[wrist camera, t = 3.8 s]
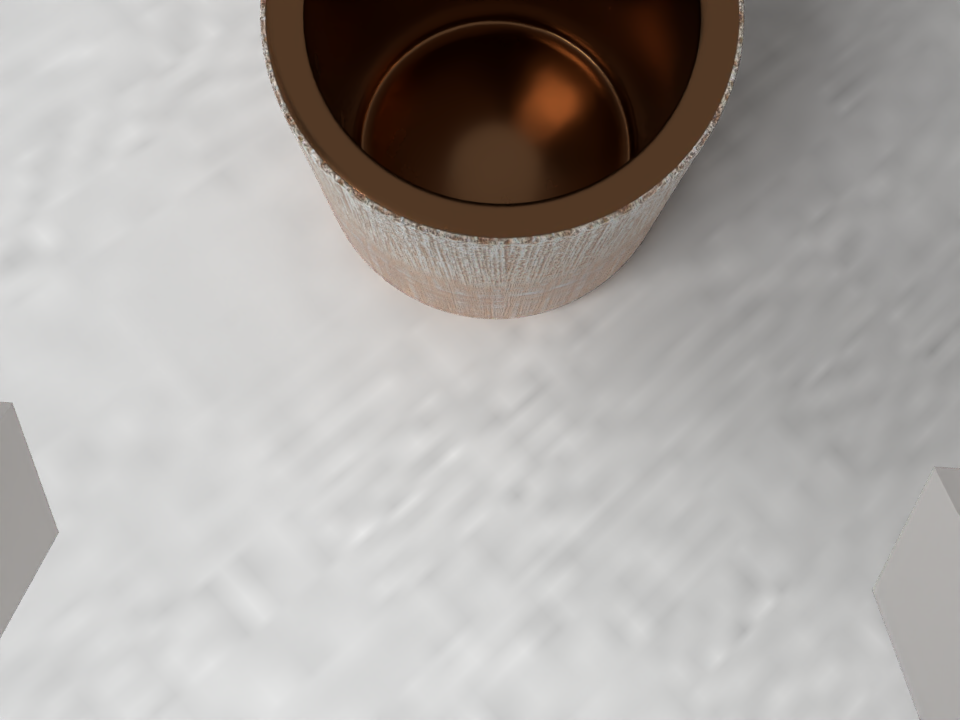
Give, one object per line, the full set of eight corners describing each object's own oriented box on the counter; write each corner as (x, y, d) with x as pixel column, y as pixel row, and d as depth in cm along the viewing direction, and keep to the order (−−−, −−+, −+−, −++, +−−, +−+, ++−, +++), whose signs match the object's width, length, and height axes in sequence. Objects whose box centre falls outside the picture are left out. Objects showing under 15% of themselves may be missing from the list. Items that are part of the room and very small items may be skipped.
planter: (556, -54, 30) (592, -299, 20) (724, 221, 29) (845, 97, 19) (269, 98, 29) (168, -83, 20) (429, 386, 28) (403, 340, 19)
